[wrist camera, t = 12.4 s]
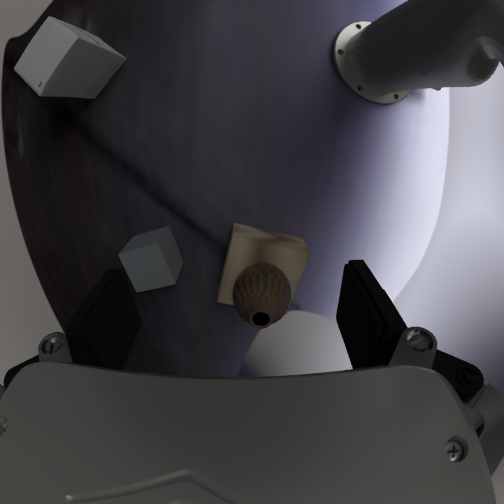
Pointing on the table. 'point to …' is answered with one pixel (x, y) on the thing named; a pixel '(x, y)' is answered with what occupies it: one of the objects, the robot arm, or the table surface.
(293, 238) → the birch block
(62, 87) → the supplement box
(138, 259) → the slate block
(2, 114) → the table surface
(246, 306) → the vase
